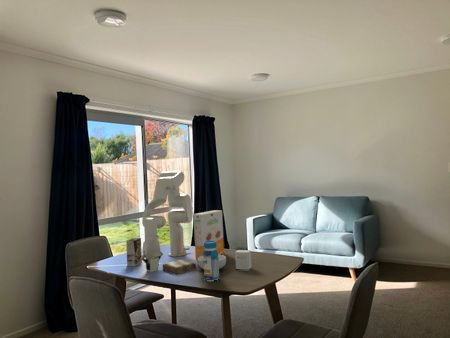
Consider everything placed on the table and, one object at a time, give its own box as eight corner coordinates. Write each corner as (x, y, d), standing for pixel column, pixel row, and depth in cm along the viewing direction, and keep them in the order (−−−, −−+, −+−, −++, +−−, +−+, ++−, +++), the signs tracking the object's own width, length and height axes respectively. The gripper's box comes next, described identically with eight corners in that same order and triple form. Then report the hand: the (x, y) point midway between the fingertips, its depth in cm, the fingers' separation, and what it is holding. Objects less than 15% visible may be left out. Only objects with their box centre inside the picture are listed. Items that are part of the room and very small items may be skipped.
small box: (251, 268, 213) (250, 250, 213) (249, 270, 208) (248, 252, 208) (238, 267, 216) (237, 249, 216) (235, 270, 211) (234, 251, 211)
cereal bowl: (194, 268, 220) (194, 256, 220) (220, 264, 225) (220, 252, 225) (203, 275, 204) (202, 262, 204) (230, 271, 209) (230, 258, 210)
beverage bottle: (220, 281, 191) (218, 242, 191) (204, 282, 190) (202, 243, 190) (219, 276, 199) (217, 239, 199) (203, 277, 199) (202, 240, 199)
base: (182, 265, 227) (181, 258, 227) (195, 269, 216) (195, 262, 216) (162, 270, 218) (162, 263, 218) (176, 274, 207) (175, 267, 207)
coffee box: (136, 266, 230) (135, 240, 230) (126, 266, 231) (125, 240, 231) (142, 262, 239) (141, 237, 239) (133, 262, 240) (132, 237, 240)
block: (154, 268, 222) (153, 257, 222) (158, 270, 218) (157, 258, 218) (146, 270, 219) (146, 258, 219) (151, 271, 215) (150, 260, 215)
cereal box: (216, 253, 257) (214, 210, 257) (223, 253, 253) (222, 210, 253) (195, 260, 239) (193, 214, 239) (203, 261, 235) (200, 214, 235)
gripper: (160, 235, 227) (161, 264, 227) (135, 239, 216) (136, 270, 216) (166, 236, 222) (168, 266, 221) (141, 241, 210) (142, 273, 210)
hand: (152, 268), depth 219 cm, fingers closed on block, 5 cm apart
